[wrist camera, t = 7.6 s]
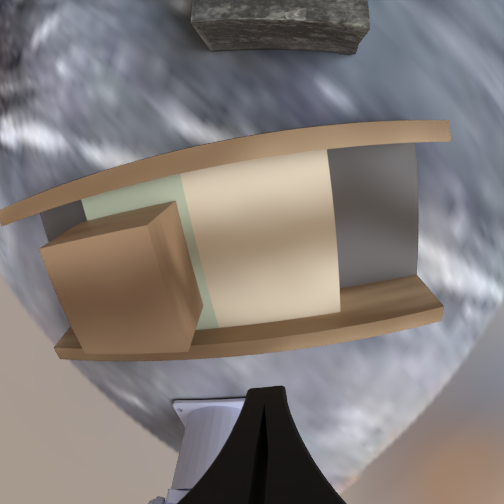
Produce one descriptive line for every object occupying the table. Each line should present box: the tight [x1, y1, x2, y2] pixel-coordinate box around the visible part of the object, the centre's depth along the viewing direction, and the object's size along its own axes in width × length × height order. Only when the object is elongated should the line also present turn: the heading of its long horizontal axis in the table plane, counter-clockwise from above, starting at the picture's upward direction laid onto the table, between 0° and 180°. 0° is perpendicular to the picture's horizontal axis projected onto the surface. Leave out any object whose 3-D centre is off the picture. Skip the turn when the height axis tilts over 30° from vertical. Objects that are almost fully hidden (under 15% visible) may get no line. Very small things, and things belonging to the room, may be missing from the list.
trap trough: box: [0, 120, 451, 361], centre depth 16 cm, size 11×25×4 cm, turn 100°
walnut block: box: [39, 201, 204, 354], centre depth 14 cm, size 6×6×4 cm
